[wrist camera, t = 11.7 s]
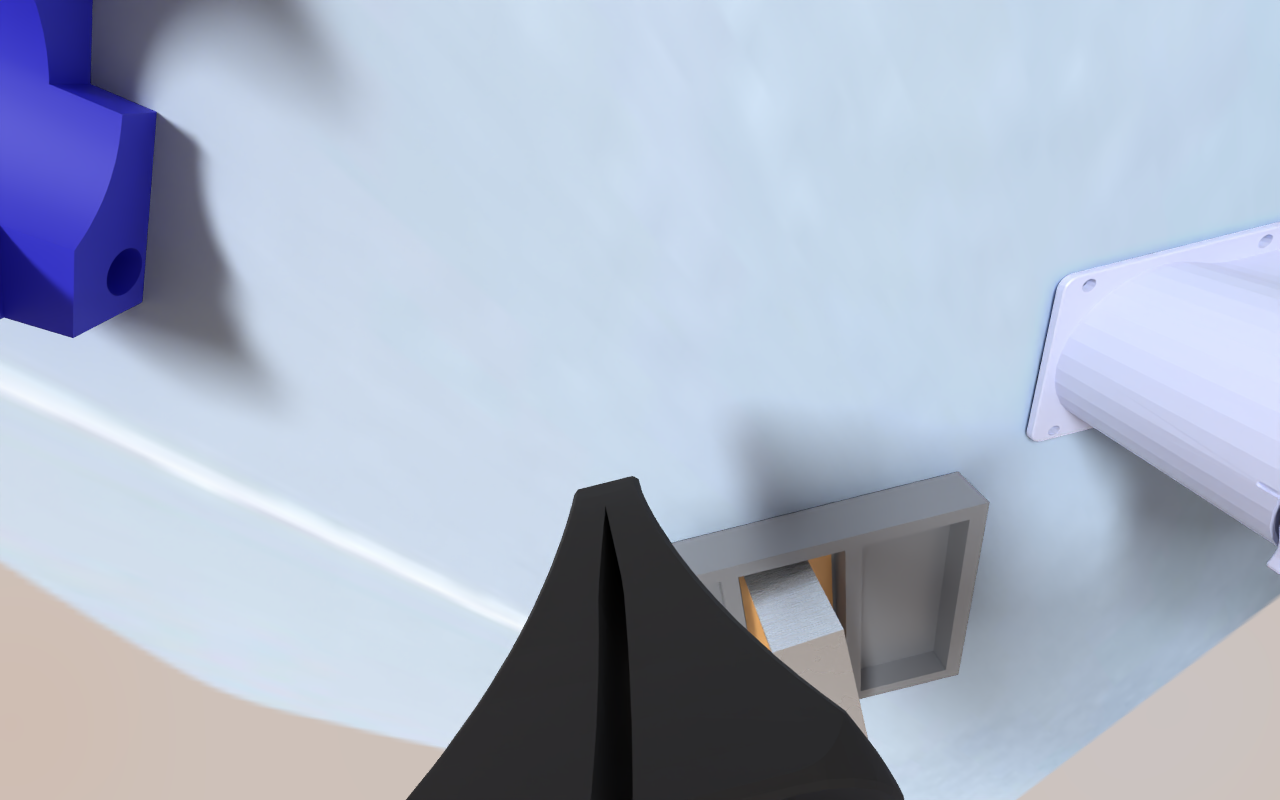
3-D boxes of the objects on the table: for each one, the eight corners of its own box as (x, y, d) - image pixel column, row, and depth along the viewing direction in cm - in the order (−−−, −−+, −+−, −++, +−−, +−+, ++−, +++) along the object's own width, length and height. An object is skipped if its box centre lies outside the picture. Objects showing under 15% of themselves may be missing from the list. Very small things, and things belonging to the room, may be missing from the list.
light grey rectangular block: (800, 546, 25) (843, 629, 22) (830, 661, 31) (869, 744, 27) (740, 567, 26) (772, 652, 22) (780, 677, 31) (811, 762, 27)
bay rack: (958, 471, 26) (992, 505, 24) (935, 641, 33) (960, 678, 31) (589, 563, 26) (591, 605, 24) (646, 713, 33) (652, 755, 31)
